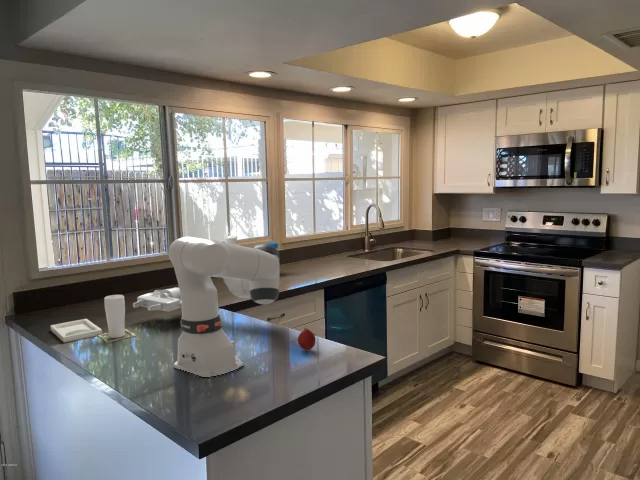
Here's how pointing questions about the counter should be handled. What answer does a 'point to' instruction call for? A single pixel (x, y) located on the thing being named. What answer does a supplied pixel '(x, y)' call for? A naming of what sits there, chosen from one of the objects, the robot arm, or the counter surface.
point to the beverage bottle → (277, 250)
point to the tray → (75, 330)
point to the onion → (306, 339)
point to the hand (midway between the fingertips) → (141, 307)
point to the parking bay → (116, 339)
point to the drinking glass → (115, 315)
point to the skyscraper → (230, 241)
